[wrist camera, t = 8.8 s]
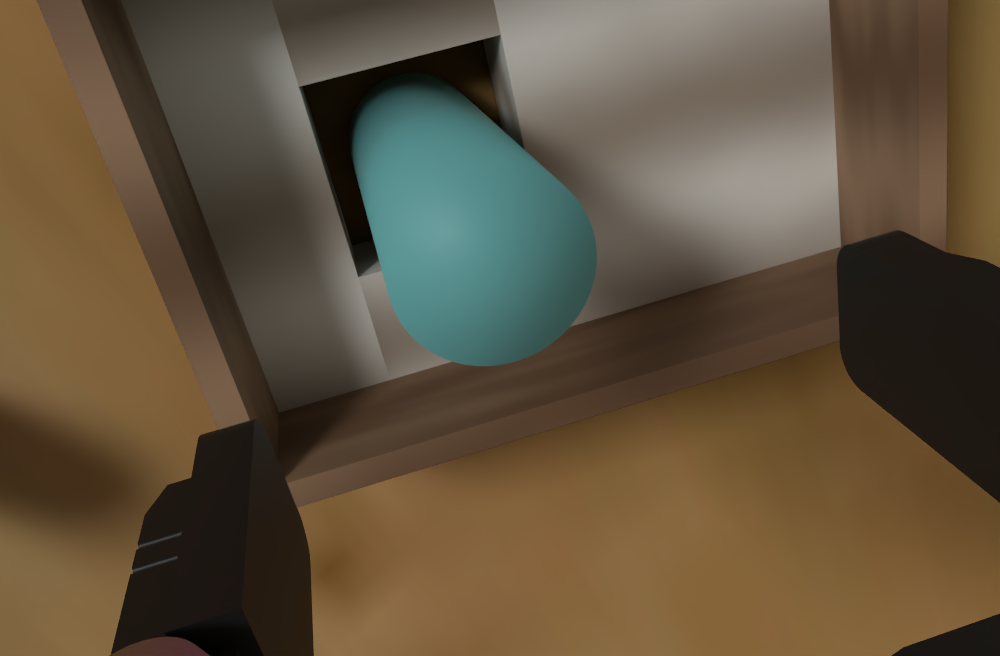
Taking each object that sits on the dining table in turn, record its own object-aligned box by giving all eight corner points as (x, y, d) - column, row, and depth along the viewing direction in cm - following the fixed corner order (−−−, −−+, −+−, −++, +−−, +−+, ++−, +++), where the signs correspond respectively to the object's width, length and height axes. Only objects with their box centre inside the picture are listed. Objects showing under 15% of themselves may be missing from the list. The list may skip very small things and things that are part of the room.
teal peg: (332, 91, 26) (358, 196, 15) (461, 57, 26) (576, 136, 16) (369, 217, 28) (417, 391, 17) (490, 183, 28) (612, 332, 17)
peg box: (91, -49, 23) (17, -46, 17) (788, -214, 25) (950, -265, 19) (264, 396, 29) (256, 519, 23) (815, 235, 31) (945, 308, 25)
